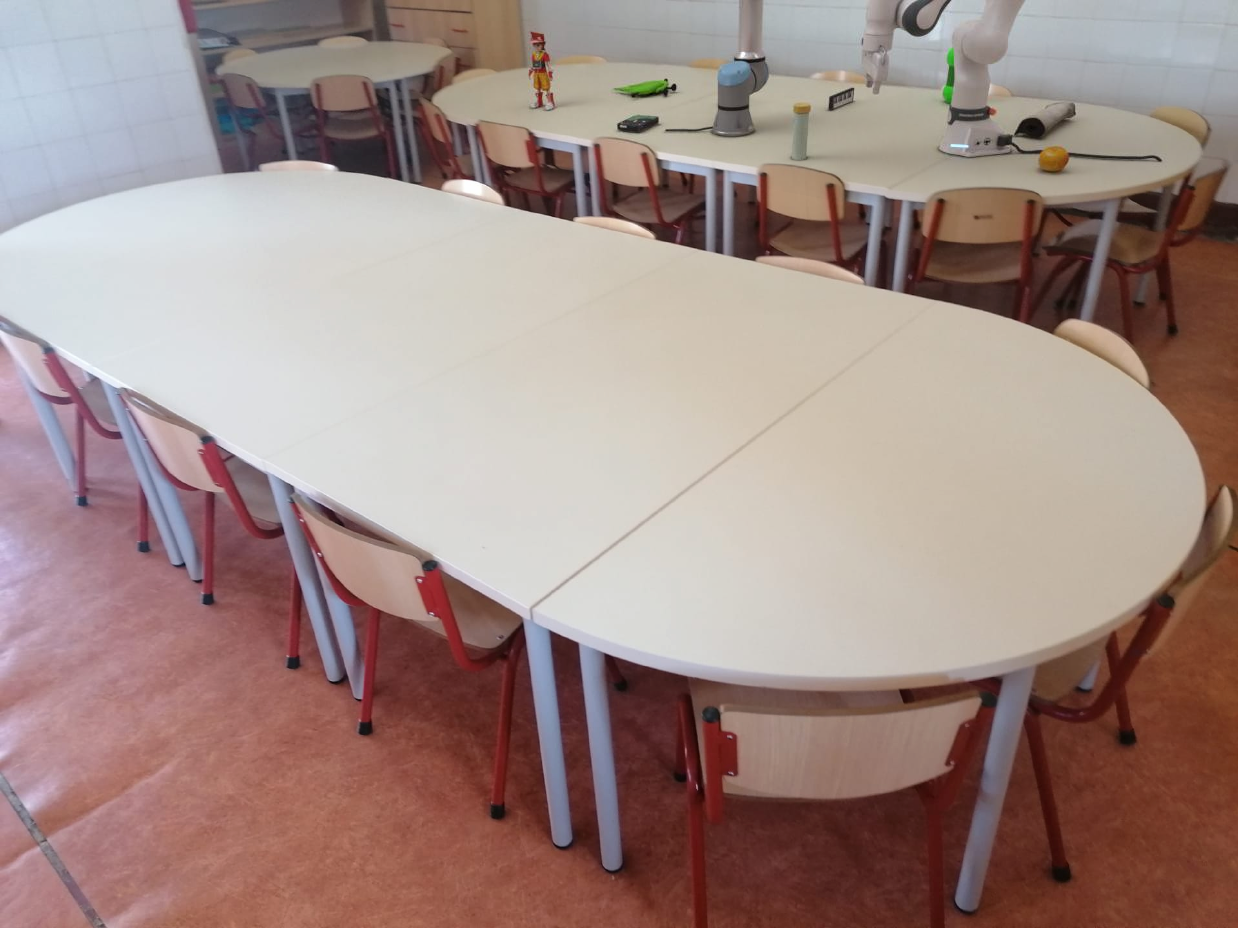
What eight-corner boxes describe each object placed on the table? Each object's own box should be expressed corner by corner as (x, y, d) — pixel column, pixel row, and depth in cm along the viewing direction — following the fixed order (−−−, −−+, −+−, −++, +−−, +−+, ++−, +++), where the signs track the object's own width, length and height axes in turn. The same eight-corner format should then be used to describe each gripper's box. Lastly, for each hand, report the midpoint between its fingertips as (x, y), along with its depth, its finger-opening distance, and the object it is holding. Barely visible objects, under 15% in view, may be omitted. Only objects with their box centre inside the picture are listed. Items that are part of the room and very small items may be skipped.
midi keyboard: (831, 110, 354) (832, 97, 351) (828, 110, 355) (829, 96, 352) (853, 101, 364) (854, 88, 361) (850, 100, 365) (851, 87, 362)
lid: (813, 111, 295) (814, 105, 294) (800, 114, 293) (800, 107, 292) (803, 108, 299) (803, 101, 298) (789, 111, 297) (790, 104, 296)
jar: (809, 158, 304) (812, 106, 295) (797, 161, 302) (800, 108, 293) (800, 155, 308) (803, 103, 298) (788, 157, 306) (791, 106, 296)
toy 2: (686, 85, 398) (631, 84, 414) (685, 72, 395) (629, 72, 411) (651, 104, 381) (596, 103, 397) (650, 92, 378) (594, 91, 394)
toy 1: (525, 109, 381) (517, 32, 364) (534, 104, 388) (527, 28, 371) (550, 110, 377) (543, 32, 360) (559, 105, 384) (553, 28, 367)
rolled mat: (1043, 107, 330) (1067, 89, 322) (1056, 128, 330) (1081, 111, 322) (1009, 129, 312) (1034, 111, 304) (1024, 151, 313) (1049, 134, 305)
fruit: (1033, 161, 277) (1052, 138, 274) (1031, 164, 284) (1049, 141, 281) (1057, 177, 275) (1075, 153, 272) (1054, 179, 283) (1072, 156, 280)
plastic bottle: (973, 101, 354) (984, 32, 339) (955, 106, 349) (966, 36, 335) (952, 97, 361) (962, 29, 346) (934, 102, 356) (944, 33, 342)
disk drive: (640, 133, 341) (659, 123, 351) (639, 126, 339) (659, 116, 349) (617, 131, 346) (636, 121, 356) (616, 123, 344) (636, 113, 354)
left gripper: (889, -14, 286) (881, 58, 298) (910, -24, 303) (902, 44, 315) (865, -14, 289) (859, 57, 301) (888, -25, 306) (881, 43, 318)
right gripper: (896, 49, 269) (890, 97, 277) (880, 37, 286) (874, 83, 293) (875, 50, 269) (869, 98, 277) (860, 38, 286) (855, 84, 294)
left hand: (881, 50), depth 308 cm, fingers open, 13 cm apart
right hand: (872, 90), depth 285 cm, fingers open, 8 cm apart
